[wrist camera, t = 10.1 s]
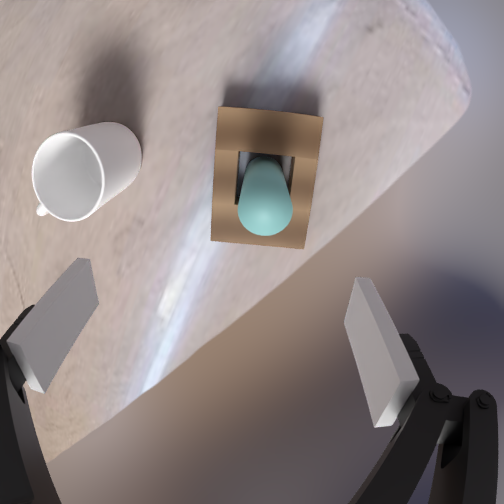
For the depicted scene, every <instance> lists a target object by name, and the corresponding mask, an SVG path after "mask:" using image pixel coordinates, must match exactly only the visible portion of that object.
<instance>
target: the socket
mask: <svg viewBox="0 0 504 504" xmlns="http://www.w3.org/2000/svg"><path fill="white" fill-rule="evenodd" d="M322 125H323V117H319V116H313V115H306V114H299V113H291V112H283V111H274V110H264V109H253V108H240V107H225V106H220V107H218V118H217V132H216V147H215V162H214V179H213V198H212V219H211V241H219V242H230V243H241V244H252V245H263V246H274V247H285V248H295V249H304V246H305V240H306V234H307V228H308V222H309V216H310V209H311V203H312V197H313V190H314V183H315V176H316V170H317V163H318V155H319V148H320V141H321V133H322ZM240 151H243V152H254V153H265V154H275V155H284V156H292V159H291V168H290V176H289V184H288V192H289V195H290V198H291V202H292V206H293V213H292V217H291V220H290V222H289V224H288V225H287V226H286V227H285V228H284V229H283V230H282V231H280V232H279V233H276V234H274V235H269V236H261V235H257V234H254V233H252V232H250V231H249V230H247V229H246V228H245V227H244V226H243V225H242V223H241V221H240V219H239V216H238V203H239V199H240V196H236V195H237V182H238V169H239V157H240Z"/></svg>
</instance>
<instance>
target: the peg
mask: <svg viewBox="0 0 504 504" xmlns="http://www.w3.org/2000/svg"><path fill="white" fill-rule="evenodd" d="M292 213H293V206H292V202H291V198H290V195H289V192H288V188H287V185H286V182H285V178H284V175H283V172H282V169H281V166H280V165H279V163H278V162H277V161H276V160H274V159H273V158H271V157H267V156H261V157H257V158H255V159H253V160H252V161H251V162H250V163H249V164H248V166H247V168H246V171H245V175H244V180H243V185H242V189H241V194H240V199H239V203H238V216H239V219H240V221H241V223H242V225H243V226H244V227H245V228H246V229H247V230H249V231H250V232H252V233H254V234H257V235H261V236H269V235H274V234H276V233H279V232H280V231H282V230H283V229H284V228H285V227H286V226H287V225H288V224H289V222H290V220H291V217H292Z"/></svg>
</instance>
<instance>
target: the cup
mask: <svg viewBox="0 0 504 504" xmlns="http://www.w3.org/2000/svg"><path fill="white" fill-rule="evenodd" d="M141 162H142V153H141V147H140V144H139V142H138V140H137V138H136V136H135V135H134V133H133V132H132V131H131V130H130V129H129V128H127V127H126V126H124V125H122V124H120V123H116V122H102V123H97V124H92V125H88V126H83V127H79V128H75V129H71V130H67V131H63V132H59V133H56V134H53V135H51V136H50V137H48V138H47V139H46V140H45V141H44V142H43V143H42V144H41V145H40V147H39V148H38V150H37V152H36V154H35V157H34V160H33V164H32V182H33V187H34V190H35V193H36V195H37V198H38V199H39V201H40V203H39V205H38V206H37V209H36V211H37V214H38V215H40V216H43V215H45V214H47V213H50V214H52V215H53V216H55V217H56V218H58V219H61V220H64V221H79V220H82V219H85V218H87V217H88V216H90V215H91V214H92V213H93V212H95V211H96V210H97V209H98V208H100V207H101V206H102V205H104V204H105V203H106V202H108V201H109V200H110V199H112V198H113V197H114V196H116V195H117V194H118V193H120V192H121V191H122V190H124V189H125V188H126V187H128V186H129V185H130V184H131V183H132V182H133V181H134V179H135V178H136V176H137V175H138V172H139V170H140V167H141Z"/></svg>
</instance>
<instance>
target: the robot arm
mask: <svg viewBox="0 0 504 504" xmlns="http://www.w3.org/2000/svg"><path fill="white" fill-rule="evenodd" d="M98 304H99V301H98V296H97V292H96V287H95V282H94V278H93V273H92V267H91V262H90V259H85V258H77V259H76V260H75V261H74V262H73V263H72V264H71V265H70V267H69V268H68V269H67V270H66V271H65V272H64V273H63V274H62V275H61V276H60V277H59V279H58V280H57V281H56V282H55V283H54V284H53V285H52V286H51V287H50V289H49V290H48V291H47V292H46V293H45V294H44V296H43V297H42V298H41V299H40V300H39V301H38V303H37V304H36V305H31V306H30V307H28V308H27V309H25V310H24V311H23V312H22V313H21V314H20V316H19V317H18V319H16V320H15V322H14V324H12V325H11V326H10V328H9V329H8V330H7V331H6V333H5V334H4V335H3V336H2V338H1V339H0V504H61V501H60V499H59V497H58V494H57V492H56V489H55V487H54V484H53V482H52V479H51V477H50V474H49V471H48V468H47V466H46V463H45V460H44V457H43V454H42V451H41V448H40V445H39V441H38V438H37V435H36V431H35V428H34V424H33V421H32V417H31V413H30V409H29V405H28V400H27V396H26V391H25V389H24V387H23V384H24V383H25V381H27V383H28V384H29V386H30V388H31V389H32V390H35V391H38V392H41V393H44V394H45V392H46V391H47V389H48V387H49V385H50V383H51V382H52V380H53V378H54V376H55V374H56V373H57V371H58V369H59V368H60V366H61V364H62V362H63V361H64V359H65V357H66V356H67V354H68V352H69V351H70V349H71V347H72V346H73V344H74V342H75V341H76V339H77V337H78V336H79V334H80V333H81V331H82V329H83V328H84V326H85V325H86V323H87V321H88V320H89V318H90V317H91V315H92V314H93V312H94V311H95V309H96V308H97V306H98ZM344 325H345V328H346V331H347V334H348V337H349V341H350V344H351V347H352V350H353V354H354V357H355V360H356V363H357V367H358V371H359V374H360V377H361V381H362V384H363V388H364V391H365V395H366V398H367V402H368V406H369V410H370V413H371V417H372V421H373V424H374V427H382V426H390V425H392V424H393V423H394V421H395V420H396V418H397V417H398V420H399V423H400V425H399V427H398V428H397V430H396V431H395V433H394V434H393V435H392V437H391V440H390V442H389V444H388V445H387V447H386V449H385V450H384V452H383V453H382V455H381V457H380V458H379V460H378V461H377V463H376V465H375V466H374V467H373V469H372V471H371V472H370V473H369V475H368V476H367V478H366V479H365V481H364V482H363V484H362V485H361V487H360V488H359V489H358V491H357V492H356V493H355V495H354V496H353V498H352V499H351V500H350V502H349V503H348V504H407V503H408V501H409V499H410V497H411V495H412V493H413V492H414V490H415V488H416V486H417V484H418V482H419V480H420V478H421V476H422V474H423V472H424V470H425V468H426V466H427V464H428V462H429V460H430V457H431V455H432V453H433V451H434V448H435V446H436V444H439V446H438V453H437V459H436V466H435V471H434V477H433V482H432V487H431V492H430V497H429V501H428V504H496V493H497V478H498V421H497V405H496V401H495V399H494V397H493V396H492V395H491V394H490V393H489V392H487V391H485V390H475V391H473V392H472V394H471V395H470V396H469V398H466V397H459V396H453V395H452V393H451V392H450V390H449V389H448V388H447V387H445V386H444V385H442V384H439V383H436V381H435V378H434V376H433V374H432V372H431V370H430V368H429V366H428V364H427V362H426V360H425V359H424V356H423V354H422V352H420V348H419V346H418V344H417V342H416V341H415V340H414V339H413V338H412V337H411V336H410V335H409V334H398V332H397V330H396V328H395V326H394V323H393V321H392V319H391V317H390V315H389V313H388V311H387V309H386V308H385V306H384V304H383V302H382V300H381V298H380V296H379V294H378V292H377V290H376V288H375V286H374V284H373V283H372V281H371V279H370V278H362V277H356V278H355V282H354V286H353V290H352V293H351V298H350V302H349V305H348V309H347V312H346V316H345V319H344Z"/></svg>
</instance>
